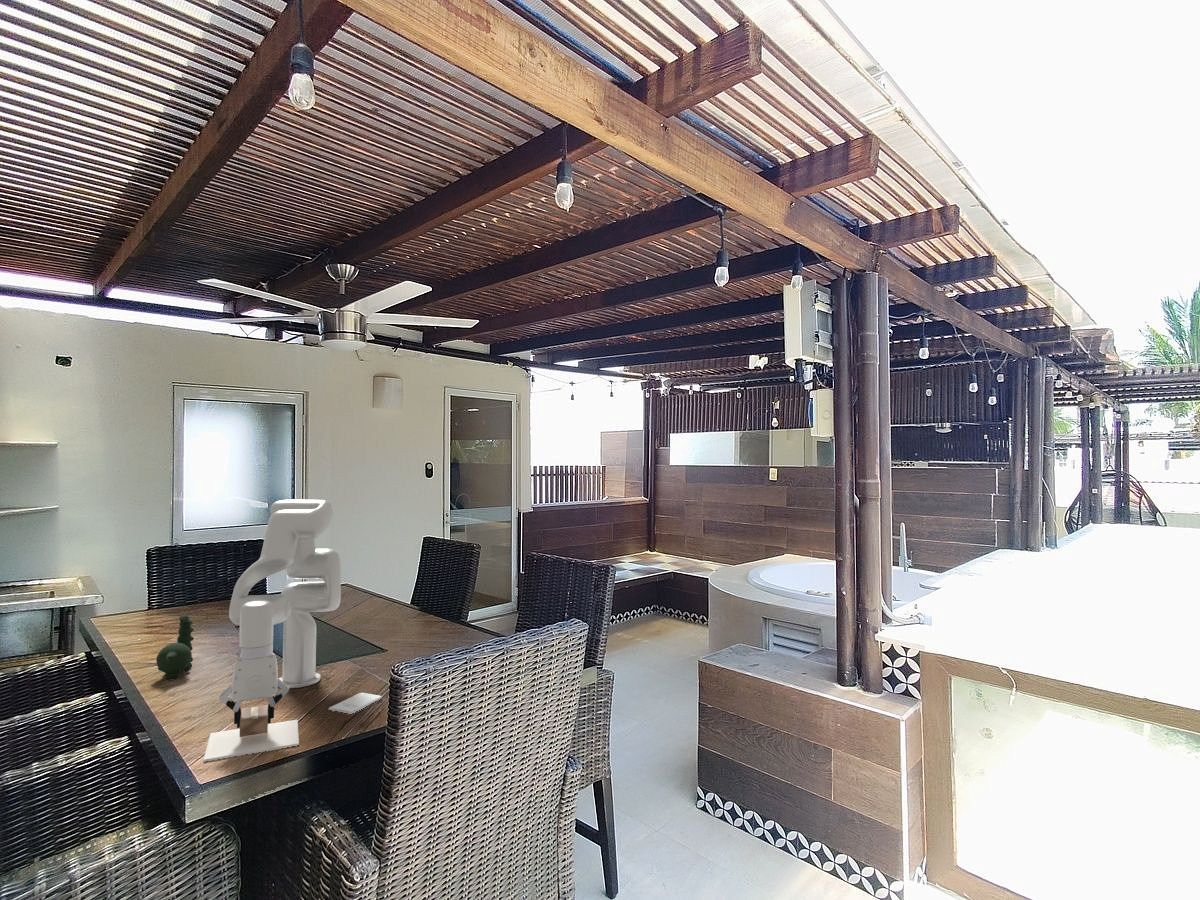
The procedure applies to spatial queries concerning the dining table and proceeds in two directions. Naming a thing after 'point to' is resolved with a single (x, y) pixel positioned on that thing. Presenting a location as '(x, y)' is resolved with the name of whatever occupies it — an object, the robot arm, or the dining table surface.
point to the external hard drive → (355, 703)
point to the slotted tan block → (254, 720)
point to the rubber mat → (251, 741)
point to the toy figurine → (177, 652)
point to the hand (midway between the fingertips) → (254, 723)
